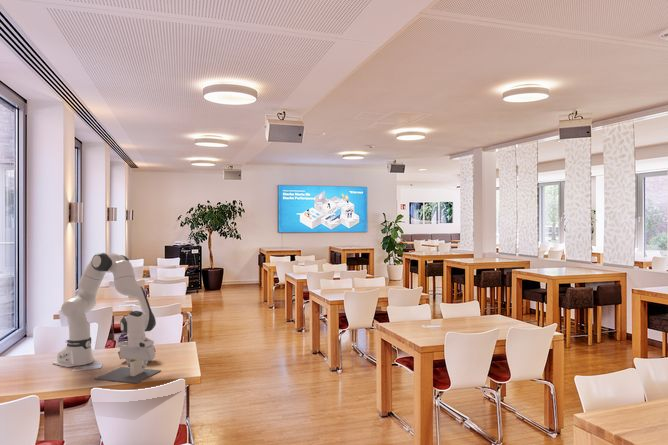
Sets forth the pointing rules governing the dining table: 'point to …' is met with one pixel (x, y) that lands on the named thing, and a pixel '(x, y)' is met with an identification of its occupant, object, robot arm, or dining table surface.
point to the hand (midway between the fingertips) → (137, 367)
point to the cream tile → (136, 367)
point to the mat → (127, 375)
